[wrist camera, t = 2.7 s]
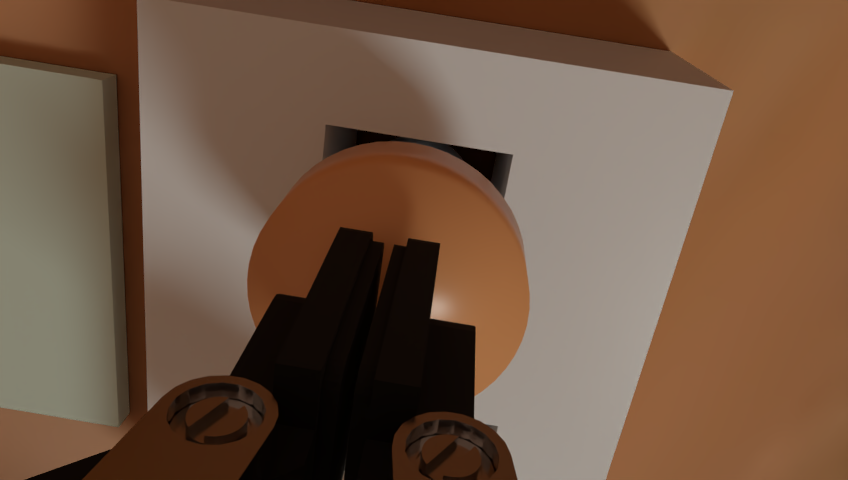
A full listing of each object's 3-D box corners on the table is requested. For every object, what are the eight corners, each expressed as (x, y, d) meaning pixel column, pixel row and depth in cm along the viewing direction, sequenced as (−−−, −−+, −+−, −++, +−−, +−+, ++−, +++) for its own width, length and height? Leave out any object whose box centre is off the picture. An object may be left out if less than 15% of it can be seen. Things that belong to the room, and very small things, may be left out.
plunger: (495, 289, 19) (500, 436, 13) (312, 259, 19) (241, 394, 13) (534, 107, 17) (558, 193, 11) (328, 74, 17) (252, 144, 11)
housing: (530, 544, 26) (540, 676, 21) (211, 490, 26) (152, 609, 21) (671, 51, 18) (733, 90, 14) (222, -21, 18) (136, -6, 14)
